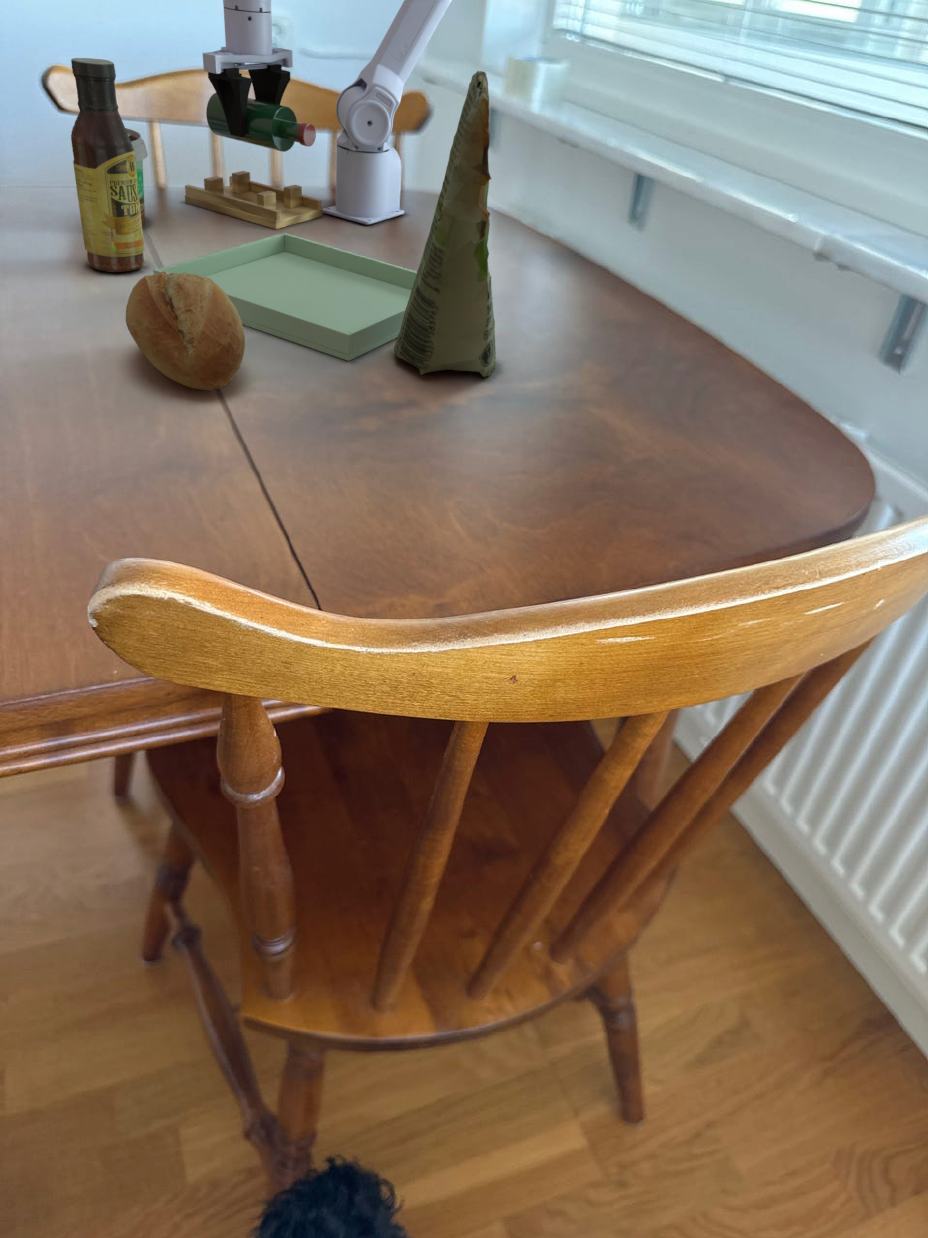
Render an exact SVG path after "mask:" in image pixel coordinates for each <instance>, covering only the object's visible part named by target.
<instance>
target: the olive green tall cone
mask: <svg viewBox="0 0 928 1238" xmlns="http://www.w3.org/2000/svg"><path fill="white" fill-rule="evenodd" d="M456 128H457V129H456V131H455V134H454V136H453V139H452V144H451V147H450V150H449V156H448V161H447V166H446V169H445V174H444V178H443V181H442V186H441V190H440V192H439V196H438V200H437V203H436V205H435V211H434V214H433V219H432V222H431V225H430V230H429V233H428V237H427V240H426V242H425V245H424V249H423V254H422V256H421V260H420V263H419V265H418V268H417V275H416V278H415V281H414V284H413V288H412V291H411V294H410V297H409V301H408V304H407V307H406V310H405V313H404V317H403V321H402V325H401V329H400V332H399V334H398V337H397V338H396V342H395V344H394V347H393V352H394V355H395V356H396V357H397V358H399V359H402V360H403V361H405V362H407V363H408V364H410V365H412V366H414V367H415V368H417V369H418V370H419V373H420V376H421V375H425V374H427V373H431V372H439V371H447V370H449V371H450V370H451V371H463V372H464V371H465V372H477V373H479V374H480V375H481V376H482V377H483V378H486V377H488V376H489V377H490V376H491V375H492V372H494V370H495V369H496V365H497V364H496V363H497V361H496V359H497V351H496V330H495V329H496V320H495V314H494V305H493V304H494V303H493V302H494V301H493V291H492V276H491V273H490V270H489V262H488V261H489V256H490V252H489V246H488V243H489V234H490V225H491V224H490V223H491V222H490V215H491V213H490V211H489V210H488V198H489V197H488V195H489V190H490V189H489V188H490V180H492V176H491V174H490V167H489V166H490V165H489V149H490V139H491V134H490V96H489V81H488V77H487V73H486V72H485V71H484V70H483V71H482V70H477V71H476V72H475V73H474V74H472V76H471V80H470V82H469V83H468V89H467V92H466V97H465V100H464V102H463V106H462V108H461V113H460V116H459V119H458V124H457V127H456Z"/></svg>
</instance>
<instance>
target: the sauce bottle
mask: <svg viewBox="0 0 928 1238" xmlns="http://www.w3.org/2000/svg"><path fill="white" fill-rule="evenodd" d="M70 63H71V70H72V74H73V77H74V79H75V88H76V94H77V106H78V109H79V113H78V115H77V116H76V119H75V121H74V125H73V127H72V130H71V133H70V141H71V142H70V143H71V148H72V155H73V161H72V165H73V170H74V171H73V172H74V179H75V185H76V193H77V202H78V209H79V215H80V223H81V230H82V237H83V245H84V249H85V251H86V253H87V255H86V256H87V257H86V258H87V261H88V264H89V266H90V267H92V268H93V269H95V270H98V271H101V272H103V271H104V272H106V273H107V272H109V273H124V272H133V271H136V270H139V269H141V268H142V267H143V266H144V261H145V260H144V259H145V258H144V253H145V242H144V241H145V240H144V232H143V227H142V221H141V211H140V201H139V191H138V181H137V171H136V160H135V151H134V149H133V146H132V144H131V141H130V139H129V136H128V134H127V131H126V129H125V128H126V127H125V125H124V122H123V120H122V117H121V114H120V113H119V106H118V103H117V94H116V93H117V92H116V85H115V81H116V77H117V74H116V68H115V67H116V66H115V64H114V62H113V61H111V60H109V59H103V58H91V57H90V58H89V57H74V58H71V60H70Z"/></svg>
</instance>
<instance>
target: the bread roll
mask: <svg viewBox="0 0 928 1238" xmlns="http://www.w3.org/2000/svg"><path fill="white" fill-rule="evenodd" d="M125 308H126V309H125V324H126V327H127V330H128V332H129V335H131V337H132V339H133V341H134V342H135V344H136V345H137V347H138V349H139V350H140V352H141V353H142V355H144V357H145V358H146V359H147V360H148V361H149V362H150V364H151V365H152V366H153V367H154V368H155V369H156V370H157V371H158V372H160V373H161V374H162V375H163V376H165V377H167V378H169V379H170V380H172V381H174V382H175V383H177V384H179V385H180V384H181V385H183V386H185V387H187V388H189V389H194V390H195V389H196V390H202V391H211V390H218V389H220V388H224V387H225V386H226V385H228V384H230V382H231V381H232V380H233V378H234V377H235V376H236V374H237V373H238V370H239V369H240V367H241V364H242V361H243V358H244V354H245V348H246V335H245V329H244V325H243V324H242V321H241V319H240V316H239V314H238V311H237V309H236V308H235V306H234V305H233V303H232V302H231V300H230V299H229V297H228V296H227V294H226V293H225V292H224V291H223V290H222V289H221V288H220V287H219V286H218V285H217V284H216V283H215V282H213V281H212V280H211V279H210V278H207V277H202V276H198V275H194V274H188V273H170V274H169V275H167V274H166V272H164V271H163V272H160V273H157V274H154V273H153V274H151V275H144V276H143V277H142V278H140V279H139V280H138V281H137V282H136V283H135V285H133V287H132V289H131V292H130V294H129V296H128V299H127V303H126V307H125Z"/></svg>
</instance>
